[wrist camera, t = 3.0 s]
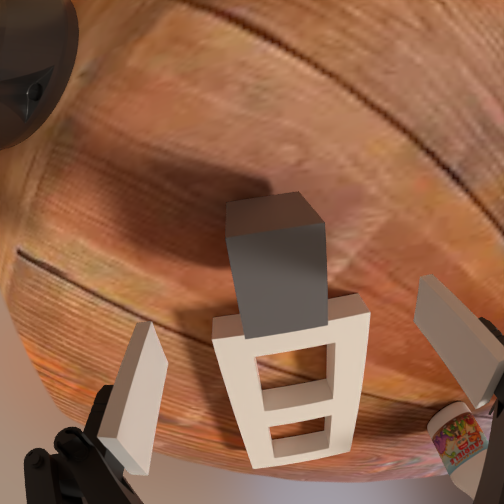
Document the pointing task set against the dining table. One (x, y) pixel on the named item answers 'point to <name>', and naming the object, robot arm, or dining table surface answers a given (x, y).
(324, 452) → the socket plate
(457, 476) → the milk bottle
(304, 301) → the plug
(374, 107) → the dining table surface
